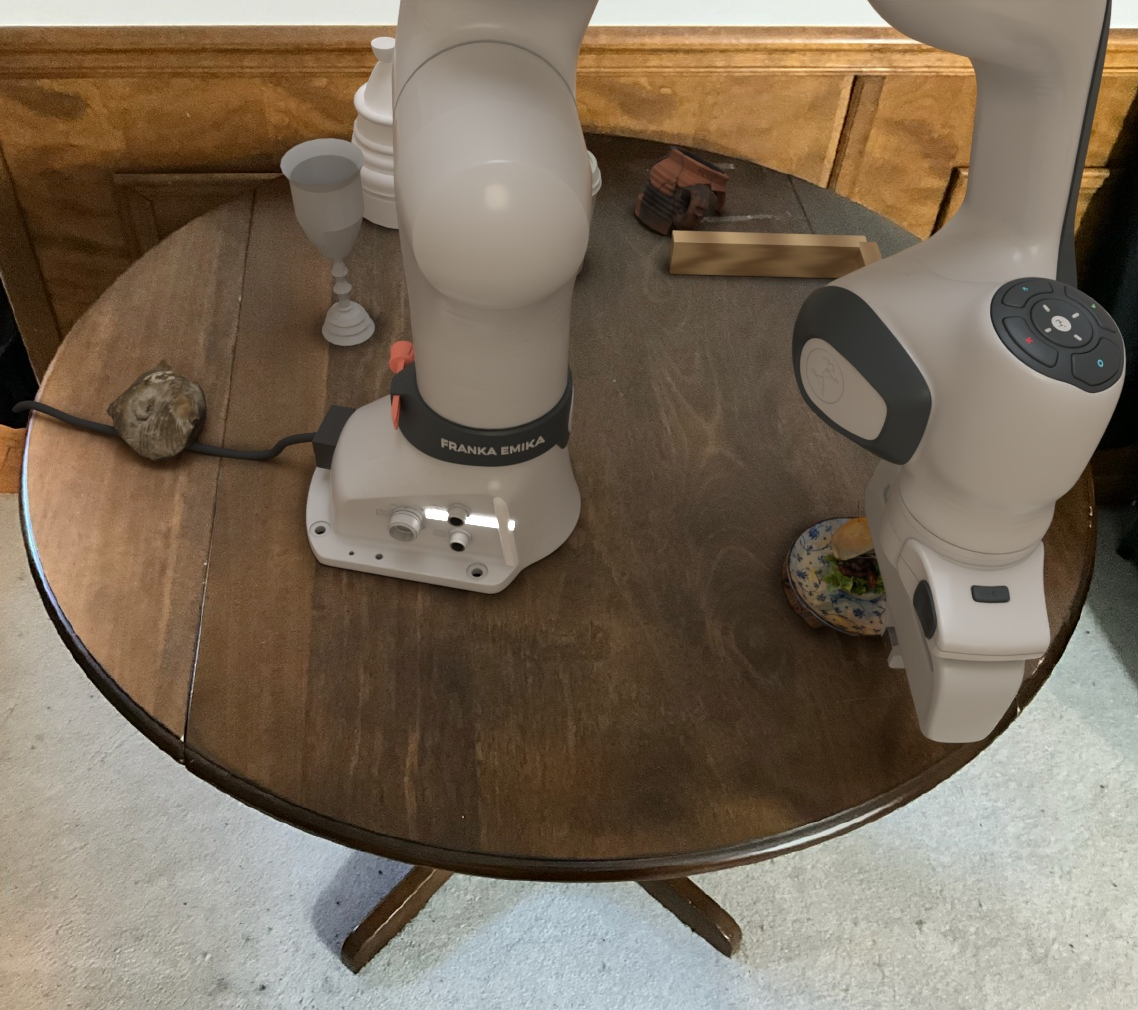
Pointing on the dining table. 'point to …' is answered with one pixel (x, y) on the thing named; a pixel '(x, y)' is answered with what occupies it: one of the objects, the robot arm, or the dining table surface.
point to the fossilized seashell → (159, 413)
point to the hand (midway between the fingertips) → (895, 651)
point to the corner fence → (769, 254)
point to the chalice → (331, 221)
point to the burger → (836, 577)
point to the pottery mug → (693, 203)
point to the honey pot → (377, 137)
